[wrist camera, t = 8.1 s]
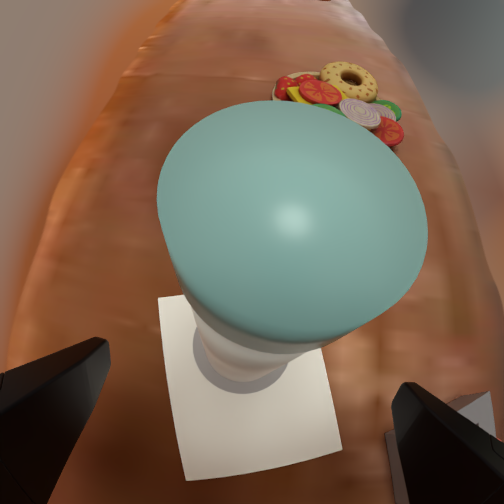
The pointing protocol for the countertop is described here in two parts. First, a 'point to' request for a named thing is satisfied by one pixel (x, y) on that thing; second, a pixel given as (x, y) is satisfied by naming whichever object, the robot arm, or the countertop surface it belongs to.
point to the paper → (242, 406)
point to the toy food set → (344, 97)
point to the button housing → (468, 406)
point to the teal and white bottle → (286, 231)
